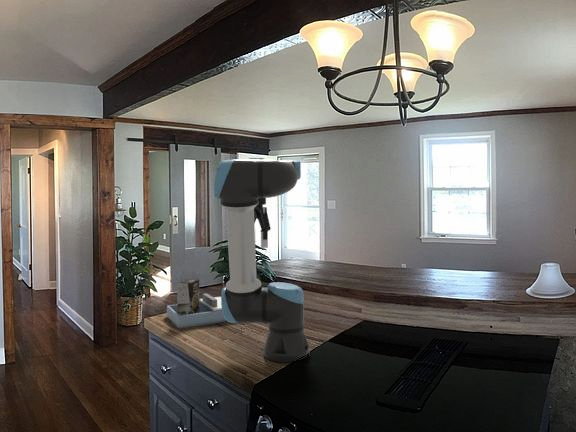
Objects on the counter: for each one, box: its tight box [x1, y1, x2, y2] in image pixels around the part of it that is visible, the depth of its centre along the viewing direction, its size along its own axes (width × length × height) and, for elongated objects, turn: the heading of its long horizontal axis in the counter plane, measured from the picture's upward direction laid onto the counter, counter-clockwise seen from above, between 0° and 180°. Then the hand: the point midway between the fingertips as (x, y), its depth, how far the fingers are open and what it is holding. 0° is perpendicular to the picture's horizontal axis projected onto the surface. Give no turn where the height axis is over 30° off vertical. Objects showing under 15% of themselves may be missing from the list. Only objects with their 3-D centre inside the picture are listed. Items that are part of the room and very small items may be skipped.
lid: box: [199, 292, 222, 311], centre depth 193 cm, size 20×20×4 cm
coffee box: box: [176, 278, 200, 316], centre depth 185 cm, size 9×6×16 cm
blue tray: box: [166, 301, 227, 330], centre depth 187 cm, size 20×20×5 cm
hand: (257, 246), depth 182 cm, fingers open, 13 cm apart
